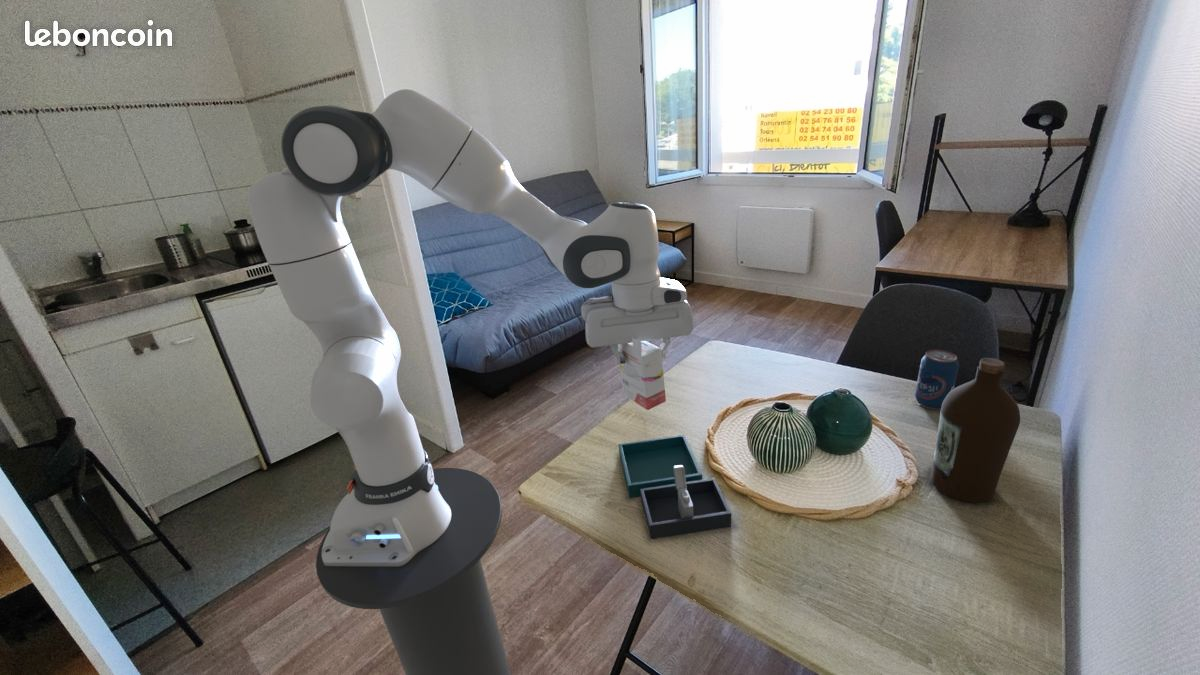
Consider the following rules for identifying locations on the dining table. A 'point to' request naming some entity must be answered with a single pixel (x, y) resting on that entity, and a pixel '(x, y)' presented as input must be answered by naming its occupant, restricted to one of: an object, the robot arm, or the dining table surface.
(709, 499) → the front tray
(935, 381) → the soda can
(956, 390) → the brown bottle
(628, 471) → the back tray
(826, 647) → the dining table surface
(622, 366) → the ink cartridge box
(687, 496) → the lighter
